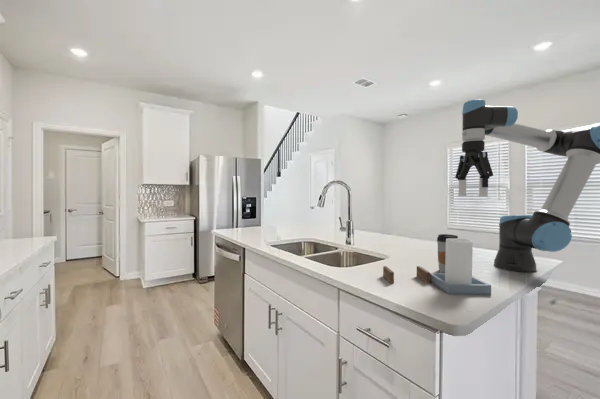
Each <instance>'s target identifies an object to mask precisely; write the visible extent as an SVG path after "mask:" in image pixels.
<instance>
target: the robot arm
mask: <svg viewBox="0 0 600 399" xmlns="http://www.w3.org/2000/svg"><path fill="white" fill-rule="evenodd" d="M461 114H462V132H461V135H462V137H461V138H462V139H461V141H462V144H461V152H463V153H465V154H464V155H460V156H459V162H458V167H457V169H456V174H455V176H454V178H455V179H457V180H458V197H465V196H467V175H468V174H469V172H470V169H471V168H472V167H473V166H474V167H475V168H476V171H477V172H478V175H479V180H478V181H479V182H478V188H479V189H478V197H481V198H482V197H489V196H488V193H489V179H490V178H491V177H493V175H494V173H493V169H492V167H491V163H490V160H489V157H488V151H485V145H486V144H485V143H486V142H485V141H484V140H486V139H485V138H486V137H485V136H488V137H491V138H496V139H500V140H504V141H508V142H512V143H516V144H520V145H525V146H528V147H532V148H536V149H537V151H540V152H541V153H542V152H543V153H547V154H551V155H555V156H559V157H560V156H562V157H566V158H567V160H566V162H565V164H564V165H563V167H562V169H561V171H560V173H559V175H558V176H557V178H556V180H555V181H554V184H553V186H552V188H551V189H550V192H549V193H548V195H547V198H546V199H545V201H544V202H543V205H542V206H541V209H539V210H535V211H534V212H533V213H532V215H530V214H515V215H512V214H511V215H502V216H501V217H500V218H499V224H498V225H499V226H498V227H499V229H498V230H499V231H498V232H499V236H498V237H499V238H498V244H499V245H498V250H497V253H496V256H495V257H494V260H493V261H494V262H493V265H494V266H495V267H497V268H500V269H503V270H507V271H514V272H525V273H531V272H536V271H537V263H536V260H535V257H534V254H533V251H532V249H536V250H538V251H542V252H551V253H552V252H553V253H554V252H556V253H557V252H558V251H562V250H563V249H566V247H567V246H568V245H569V244H570V243H571V240H572V238H573V234H571V233H572V229H571V227H570V225H571V223H570V220H569V219H568V218H569V216H570V214H571V212H572V210H573V208H574V206H575V205H576V203H577V201H578V200H579V198H580V195H581V193H582V192H583V190H584V188H585V187H586V185H587V183H588V181H589V179H590V177H591V175H592V173H593V171H594V169H595V167H596V165H598V164H599V165H600V122H597V123H593V124H591V125H584V126H580V127H575V128H571V129H564V130H555V129H546V130H543V129H541V128H538V127H537V128H536V127H532V126H527V125H524V124H520V123H516V122H517V120H518V117H519V116H518V114H519V112H518V109H517V108H516V107H515V106H509V105H496V106H494V105H486V100H485V99H482V98H475V99H470V100H467V101H465V102H464V103H463V105H462V112H461Z"/></svg>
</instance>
